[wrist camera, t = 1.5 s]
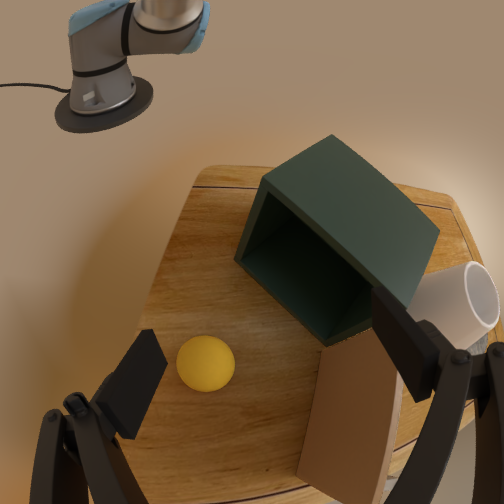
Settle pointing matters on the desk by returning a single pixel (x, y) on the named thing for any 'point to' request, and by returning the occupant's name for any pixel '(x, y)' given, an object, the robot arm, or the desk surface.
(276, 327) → the desk surface
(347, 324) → the cabinet
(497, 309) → the white tapered cylinder
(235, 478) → the desk surface
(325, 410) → the cabinet door
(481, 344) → the sculpture
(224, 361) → the toy
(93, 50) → the robot arm
